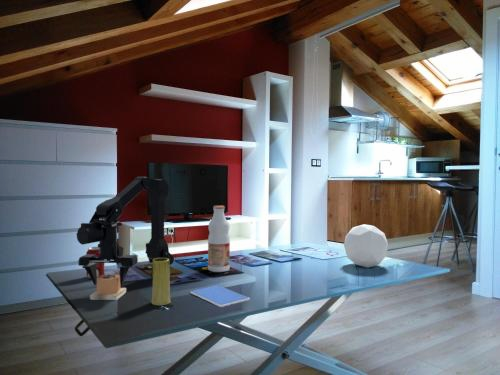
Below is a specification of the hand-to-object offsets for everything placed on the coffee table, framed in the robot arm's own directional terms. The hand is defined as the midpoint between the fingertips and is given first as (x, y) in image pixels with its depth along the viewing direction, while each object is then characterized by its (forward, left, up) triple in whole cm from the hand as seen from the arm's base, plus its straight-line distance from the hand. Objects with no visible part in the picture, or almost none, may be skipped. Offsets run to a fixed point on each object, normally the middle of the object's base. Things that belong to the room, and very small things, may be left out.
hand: (108, 285), depth 137 cm
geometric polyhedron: (-99, -51, -4) cm, 111 cm away
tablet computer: (-38, -2, -4) cm, 38 cm away
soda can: (+15, -23, -4) cm, 28 cm away
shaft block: (0, 0, -4) cm, 4 cm away
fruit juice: (-33, -39, -4) cm, 51 cm away
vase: (-20, +6, -4) cm, 21 cm away
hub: (0, 0, -2) cm, 2 cm away
